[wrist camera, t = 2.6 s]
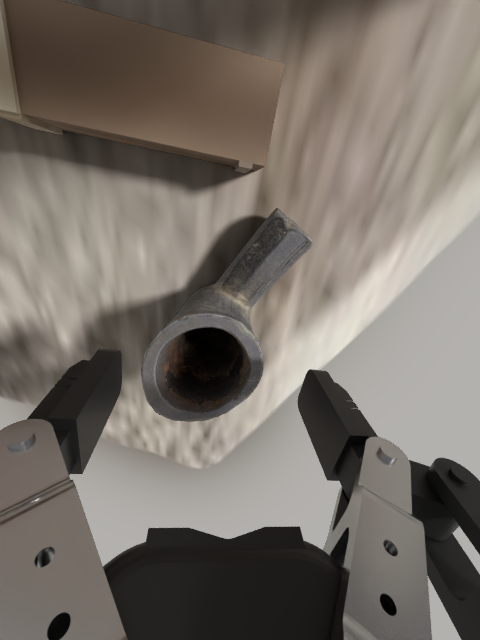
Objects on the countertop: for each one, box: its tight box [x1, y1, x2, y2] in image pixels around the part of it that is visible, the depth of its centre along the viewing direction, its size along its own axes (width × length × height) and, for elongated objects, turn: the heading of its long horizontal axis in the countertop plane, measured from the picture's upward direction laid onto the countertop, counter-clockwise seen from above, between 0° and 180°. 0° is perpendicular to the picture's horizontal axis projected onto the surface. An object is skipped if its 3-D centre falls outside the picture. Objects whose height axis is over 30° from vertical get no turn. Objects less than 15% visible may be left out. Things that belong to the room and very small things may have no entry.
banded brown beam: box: [0, 0, 285, 173], centre depth 12 cm, size 4×20×4 cm, turn 80°
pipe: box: [141, 208, 313, 422], centre depth 16 cm, size 6×13×8 cm, turn 141°
